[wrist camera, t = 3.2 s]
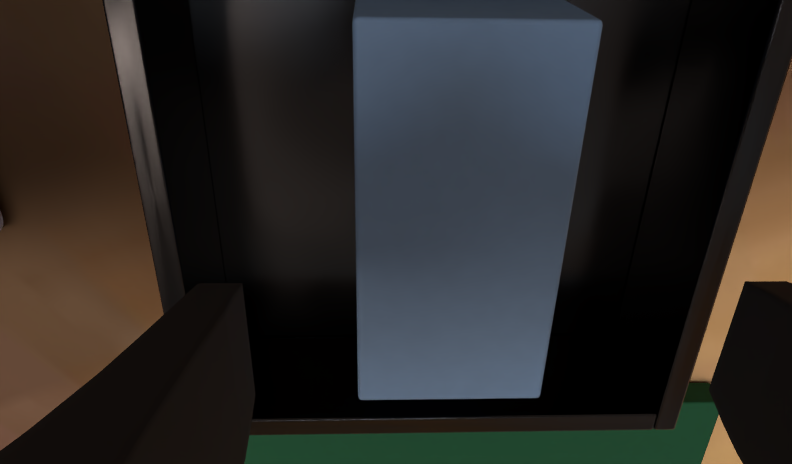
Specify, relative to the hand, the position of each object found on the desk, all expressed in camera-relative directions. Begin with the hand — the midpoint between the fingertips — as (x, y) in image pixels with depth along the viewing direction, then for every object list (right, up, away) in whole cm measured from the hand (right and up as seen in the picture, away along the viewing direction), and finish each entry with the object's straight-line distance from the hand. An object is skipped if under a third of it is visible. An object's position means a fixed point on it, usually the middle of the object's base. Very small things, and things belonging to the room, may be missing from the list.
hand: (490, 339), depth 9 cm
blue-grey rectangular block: (0, +4, +7) cm, 8 cm away
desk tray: (0, +4, +8) cm, 9 cm away
